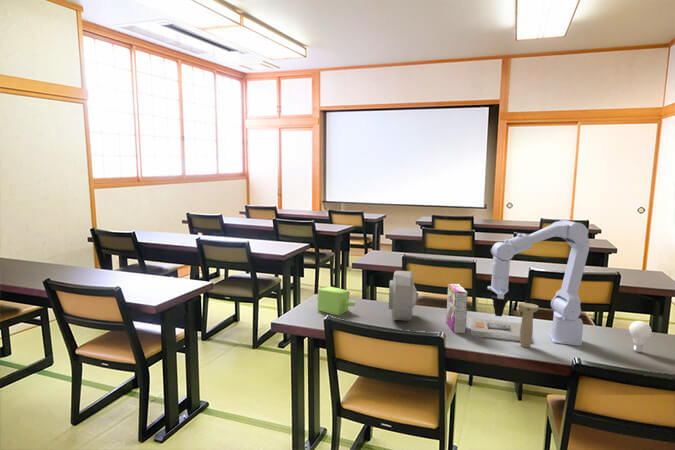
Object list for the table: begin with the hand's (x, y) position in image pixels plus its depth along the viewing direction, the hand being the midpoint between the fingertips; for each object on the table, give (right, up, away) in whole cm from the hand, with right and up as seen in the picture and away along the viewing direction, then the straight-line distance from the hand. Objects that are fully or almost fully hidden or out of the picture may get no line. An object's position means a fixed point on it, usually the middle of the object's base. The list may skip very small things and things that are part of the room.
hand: (497, 312), depth 156 cm
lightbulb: (+46, -12, -7) cm, 48 cm away
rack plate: (+4, -9, +9) cm, 14 cm away
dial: (-31, -7, +22) cm, 39 cm away
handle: (+8, -11, -4) cm, 15 cm away
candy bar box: (-12, -9, +12) cm, 19 cm away
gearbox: (-59, -6, +31) cm, 66 cm away
